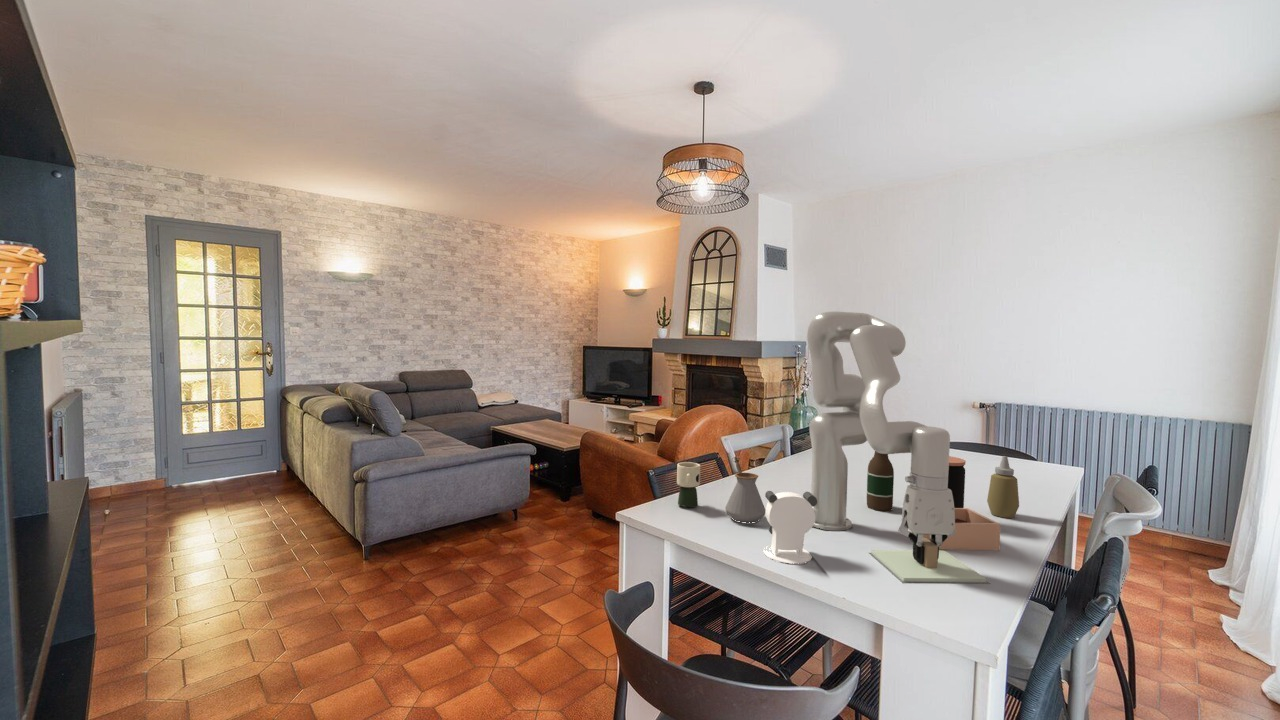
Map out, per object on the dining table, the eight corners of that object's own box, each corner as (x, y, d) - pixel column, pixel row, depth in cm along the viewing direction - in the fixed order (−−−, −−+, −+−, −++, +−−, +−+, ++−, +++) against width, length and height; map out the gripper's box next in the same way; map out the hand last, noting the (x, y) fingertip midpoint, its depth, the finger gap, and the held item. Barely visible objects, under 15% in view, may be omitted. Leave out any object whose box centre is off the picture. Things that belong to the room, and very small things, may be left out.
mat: (902, 585, 112) (902, 582, 112) (868, 555, 128) (868, 552, 128) (990, 586, 113) (990, 583, 113) (945, 555, 129) (945, 553, 129)
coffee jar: (952, 514, 161) (954, 455, 160) (970, 526, 150) (973, 463, 150) (915, 512, 162) (917, 454, 161) (931, 524, 151) (933, 462, 151)
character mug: (699, 512, 158) (700, 469, 157) (675, 511, 159) (676, 468, 158) (699, 501, 169) (700, 461, 168) (676, 500, 169) (677, 460, 169)
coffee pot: (770, 526, 147) (771, 473, 147) (729, 526, 147) (730, 472, 146) (751, 502, 168) (753, 456, 168) (716, 502, 168) (717, 455, 168)
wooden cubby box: (937, 551, 131) (938, 523, 131) (910, 532, 144) (911, 507, 144) (999, 551, 132) (1000, 524, 132) (966, 533, 144) (967, 508, 144)
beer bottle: (861, 504, 169) (863, 429, 168) (884, 503, 170) (887, 429, 169) (873, 511, 162) (876, 433, 161) (898, 511, 162) (901, 434, 161)
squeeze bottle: (987, 509, 166) (989, 452, 166) (1018, 514, 161) (1021, 456, 161) (985, 515, 160) (988, 456, 159) (1018, 521, 155) (1021, 460, 154)
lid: (903, 581, 113) (904, 554, 113) (871, 553, 128) (872, 529, 128) (986, 582, 113) (987, 555, 113) (944, 553, 128) (945, 530, 128)
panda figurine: (805, 545, 134) (807, 487, 133) (821, 564, 122) (823, 500, 122) (758, 545, 133) (759, 486, 133) (770, 564, 122) (772, 500, 121)
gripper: (902, 486, 116) (899, 568, 117) (974, 486, 116) (970, 569, 117) (885, 477, 123) (882, 554, 124) (953, 477, 124) (950, 555, 124)
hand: (925, 560), depth 121 cm, fingers closed on lid, 2 cm apart
